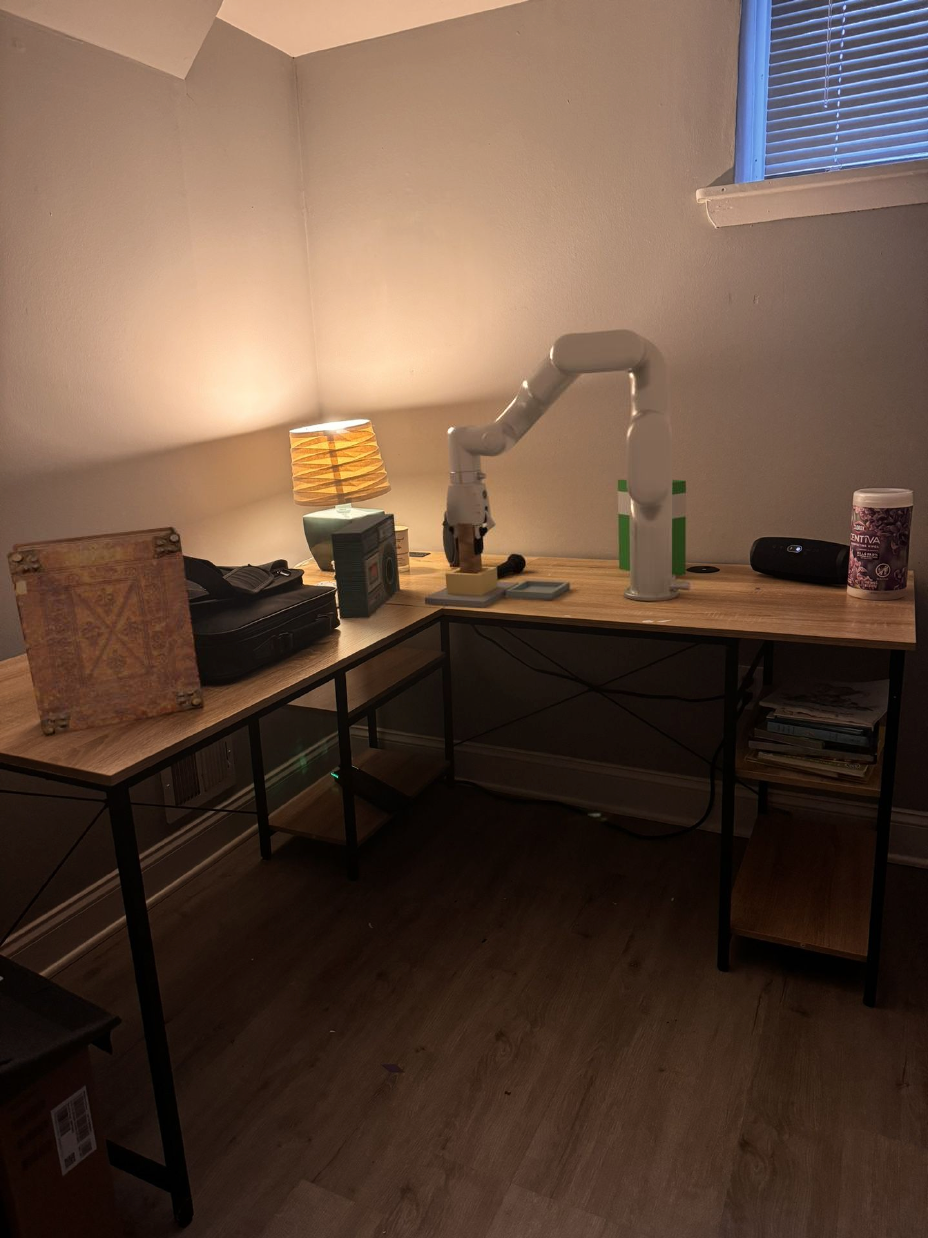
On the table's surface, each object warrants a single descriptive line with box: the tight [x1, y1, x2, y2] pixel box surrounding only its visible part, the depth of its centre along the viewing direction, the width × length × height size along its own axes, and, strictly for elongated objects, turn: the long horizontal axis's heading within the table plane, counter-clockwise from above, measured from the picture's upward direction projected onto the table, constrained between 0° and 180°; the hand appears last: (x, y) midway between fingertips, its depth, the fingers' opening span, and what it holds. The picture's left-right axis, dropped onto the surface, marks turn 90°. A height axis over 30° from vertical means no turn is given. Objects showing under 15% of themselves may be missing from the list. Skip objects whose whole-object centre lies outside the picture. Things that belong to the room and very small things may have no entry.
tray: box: [505, 579, 571, 602], centre depth 211 cm, size 12×12×2 cm
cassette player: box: [330, 513, 401, 619], centre depth 211 cm, size 29×7×20 cm, turn 170°
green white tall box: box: [617, 479, 687, 577], centre depth 225 cm, size 18×7×24 cm, turn 29°
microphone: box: [495, 553, 527, 579], centre depth 232 cm, size 6×6×20 cm
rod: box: [457, 523, 483, 574], centre depth 210 cm, size 4×4×16 cm
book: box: [6, 526, 205, 737], centre depth 142 cm, size 25×9×30 cm, turn 112°
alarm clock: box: [442, 509, 460, 569], centre depth 243 cm, size 14×7×20 cm, turn 17°
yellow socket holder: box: [424, 566, 519, 609], centre depth 212 cm, size 16×20×6 cm
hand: (470, 552), depth 210 cm, fingers closed on rod, 4 cm apart
